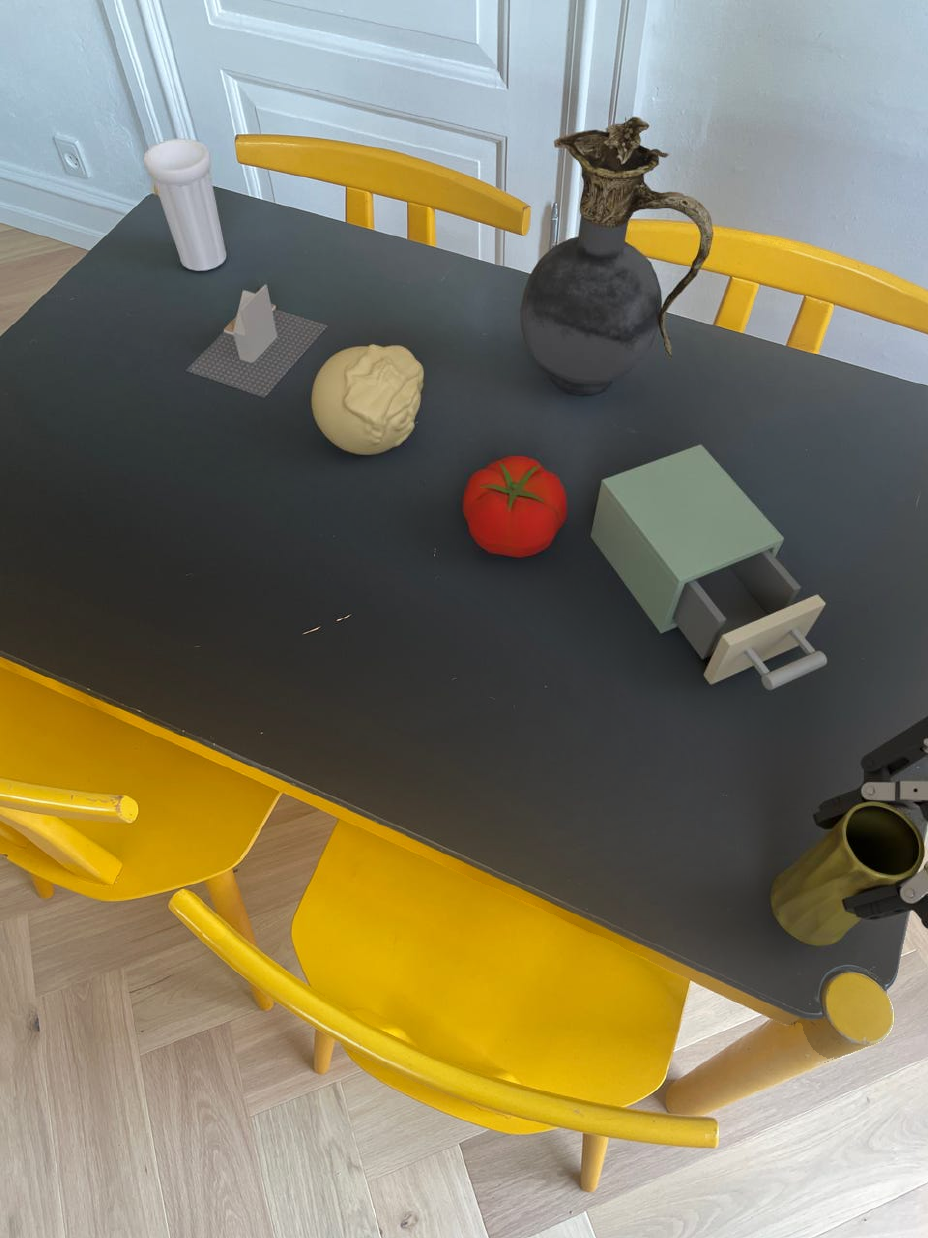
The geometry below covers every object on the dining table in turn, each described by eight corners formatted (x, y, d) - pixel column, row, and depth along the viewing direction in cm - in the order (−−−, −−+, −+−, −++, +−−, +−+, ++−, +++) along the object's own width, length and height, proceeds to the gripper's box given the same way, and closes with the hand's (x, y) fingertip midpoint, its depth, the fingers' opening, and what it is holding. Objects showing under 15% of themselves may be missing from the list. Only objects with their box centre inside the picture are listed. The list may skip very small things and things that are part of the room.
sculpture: (390, 483, 95) (384, 408, 86) (299, 446, 98) (283, 370, 89) (439, 419, 100) (438, 342, 91) (351, 386, 103) (342, 309, 94)
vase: (767, 935, 65) (834, 873, 54) (771, 859, 69) (834, 785, 57) (850, 955, 65) (936, 897, 53) (849, 877, 68) (930, 806, 56)
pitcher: (537, 333, 109) (562, 77, 85) (681, 375, 105) (752, 120, 80) (503, 384, 104) (519, 127, 79) (654, 432, 99) (721, 176, 75)
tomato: (511, 478, 95) (515, 427, 89) (583, 534, 91) (593, 485, 84) (439, 527, 91) (438, 477, 85) (511, 589, 86) (515, 541, 80)
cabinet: (757, 593, 86) (784, 538, 79) (660, 633, 84) (679, 581, 76) (682, 501, 93) (701, 443, 86) (590, 536, 90) (601, 479, 83)
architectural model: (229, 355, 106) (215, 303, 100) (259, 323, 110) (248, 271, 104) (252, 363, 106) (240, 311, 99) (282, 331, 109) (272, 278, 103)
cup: (193, 284, 114) (163, 179, 103) (163, 257, 118) (130, 151, 106) (245, 262, 117) (221, 156, 106) (214, 235, 121) (188, 131, 109)
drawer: (829, 679, 80) (857, 639, 74) (737, 721, 77) (759, 684, 72) (724, 552, 88) (742, 508, 83) (638, 586, 86) (651, 543, 80)
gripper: (1033, 648, 51) (774, 754, 60) (1168, 889, 43) (846, 969, 52) (1066, 686, 56) (822, 779, 65) (1194, 911, 47) (894, 981, 56)
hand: (834, 864), depth 58 cm, fingers closed on vase, 5 cm apart
